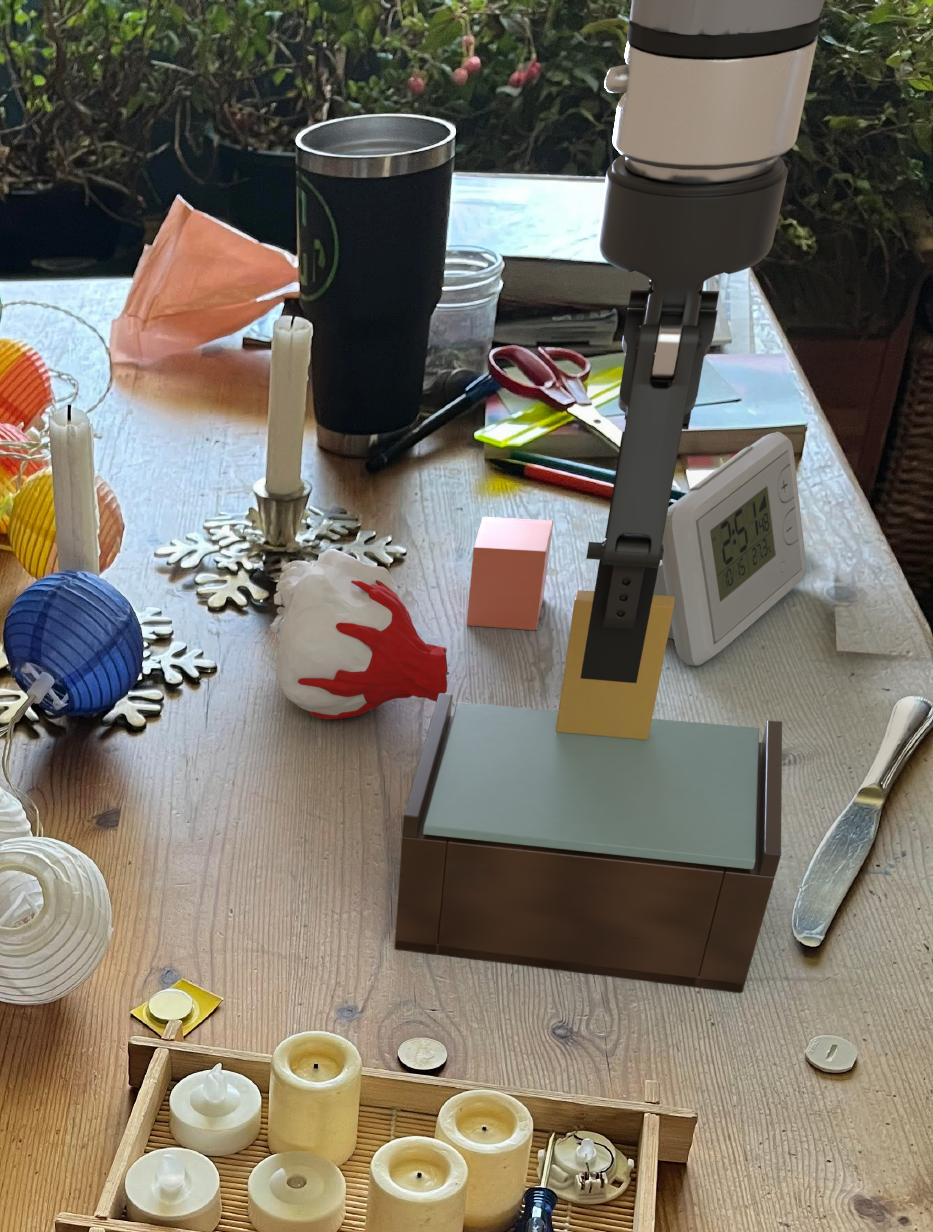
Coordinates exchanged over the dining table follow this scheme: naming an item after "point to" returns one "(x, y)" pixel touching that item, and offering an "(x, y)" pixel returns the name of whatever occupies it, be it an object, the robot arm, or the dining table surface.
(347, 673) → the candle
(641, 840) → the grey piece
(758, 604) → the digital clock
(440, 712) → the case
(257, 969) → the dining table surface
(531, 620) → the block
